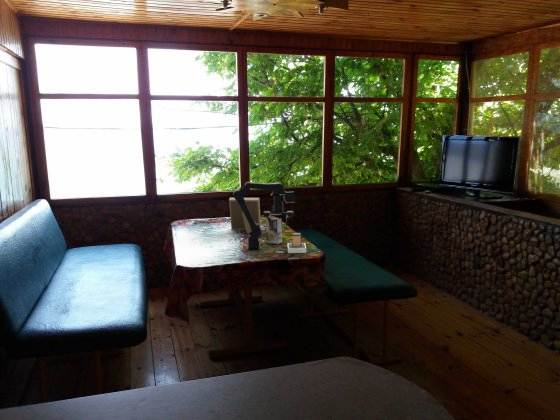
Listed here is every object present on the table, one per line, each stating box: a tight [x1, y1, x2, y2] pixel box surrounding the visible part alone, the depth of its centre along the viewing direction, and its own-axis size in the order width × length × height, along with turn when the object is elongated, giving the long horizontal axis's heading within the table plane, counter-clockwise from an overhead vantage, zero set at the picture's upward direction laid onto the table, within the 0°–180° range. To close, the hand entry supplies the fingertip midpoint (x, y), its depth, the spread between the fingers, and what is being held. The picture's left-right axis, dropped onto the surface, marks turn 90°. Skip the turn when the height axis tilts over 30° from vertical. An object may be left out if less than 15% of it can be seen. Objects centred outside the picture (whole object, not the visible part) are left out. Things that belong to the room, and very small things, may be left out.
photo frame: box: [228, 197, 262, 234], centre depth 310 cm, size 15×22×25 cm
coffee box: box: [265, 216, 283, 245], centre depth 278 cm, size 9×6×16 cm
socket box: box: [287, 242, 307, 254], centre depth 260 cm, size 11×12×4 cm
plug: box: [292, 232, 301, 246], centre depth 259 cm, size 5×5×10 cm
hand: (278, 227), depth 265 cm, fingers open, 9 cm apart
